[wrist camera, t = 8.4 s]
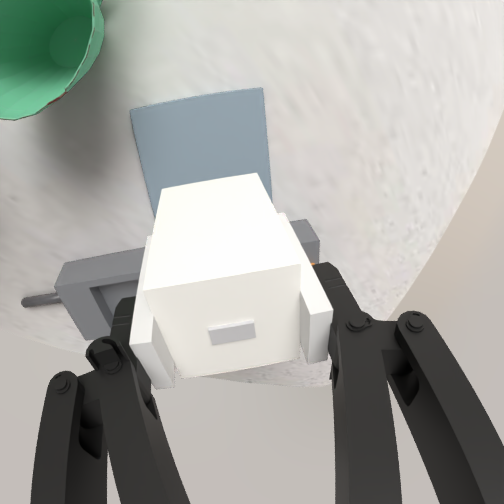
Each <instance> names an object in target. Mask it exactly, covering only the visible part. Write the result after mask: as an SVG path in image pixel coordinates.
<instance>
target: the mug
mask: <svg viewBox="0 0 504 504" xmlns="http://www.w3.org/2000/svg"><path fill="white" fill-rule="evenodd" d="M101 3H102V0H0V119H3V120H14V121H15V120H18V119H22V118H25V117H29V116H32V115H36V114H38V113H40V112H41V111H43V110H44V109H45V108H47V107H48V106H50V105H51V104H53V103H54V102H55V101H57V100H58V99H60V98H61V97H62V96H64V95H65V94H66V93H67V92H68V91H69V90H70V89H71V88H72V87H73V86H74V85H75V84H76V83H77V82H78V81H79V80H80V79H81V78H82V77H83V76H84V75H85V74H86V73H87V72H88V70H89V69H90V68H91V66H92V65H93V63H94V61H95V59H96V58H97V56H98V54H99V53H100V49H101V46H102V42H103V39H104V18H103V16H102V13H101V10H100V5H101Z"/></svg>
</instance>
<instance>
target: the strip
mask: <svg viewBox="0 0 504 504" xmlns="http://www.w3.org/2000/svg"><path fill="white" fill-rule="evenodd" d="M289 223H290V224H291V226H292V228H293V230H294V232H295V234H296V236H297V238H298V240H299V242H300V244H301V246H302V248H303V250H304V252H305V254H306V256H307V258H308V260H309V262H310V264H311V265H314V264H319V246H320V240H319V238H318V237H317V235H316V233H315V232H314V230H313V229H312V227H311V225H310V224H309V222H308V221H307V219H304V220H298V221H292V222H289ZM144 251H145V247H144V248H138V249H133V250H128V251H123V252H117V253H112V254H107V255H102V256H97V257H92V258H87V259H82V260H77V261H72V262H67V263H64V266H63V268H62V270H61V272H60V274H59V277H58V279H57V281H56V283H55V286H54V288H55V290H56V292H57V293H51V294H45V295H39V296H33V297H27V298H23V299H22V301H21V304H22V306H23V307H25V308H27V307H34V306H41V305H47V304H54V303H60V302H63V304H64V306H65V307H66V309H67V311H68V313H69V314H70V316H71V318H72V319H73V321H74V323H75V324H76V326H77V328H78V329H79V331H80V332H81V334H82V335H83V337H84V339H85V340H95V339H98V338H100V337H104V336H110V332H111V327H112V322H113V319H114V312H115V308H116V306H117V305H118V303H119V302H120V300H121V299H122V298H126V297H133V296H136V295H137V289H138V283H139V277H140V272H141V267H142V261H143V256H144Z"/></svg>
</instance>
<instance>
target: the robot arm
mask: <svg viewBox="0 0 504 504" xmlns="http://www.w3.org/2000/svg"><path fill="white" fill-rule="evenodd" d="M278 217H279V219H280V221H281V223H282V225H283V227H284V229H285V231H286V233H287V235H288V237H289V239H290V242H291V244H292V246H293V248H294V250H295V252H296V254H297V256H298V258H299V261H300V263H301V290H300V343H301V346H302V349H303V352H304V355H305V358H306V360H307V363H308V364H312V363H316V362H321V361H325V360H327V358H328V352H329V354H330V357H331V359H332V366H331V373H330V379H332V390H333V409H334V431H335V432H334V433H335V473H336V474H335V475H336V476H335V477H336V478H335V480H336V482H335V487H336V488H335V490H336V492H335V493H336V494H335V496H336V497H335V500H336V501H335V504H402V495H401V482H400V472H399V461H398V452H397V444H396V436H395V428H394V421H393V414H392V408H391V401H390V395H389V389H388V383H387V380H388V382H389V385H390V387H391V389H392V391H393V393H394V395H395V398H396V400H397V402H398V404H399V406H400V408H401V411H402V413H403V415H404V418H405V420H406V422H407V424H408V426H409V429H410V431H411V434H412V436H413V438H414V441H415V443H416V445H417V448H418V450H419V452H420V455H421V457H422V460H423V462H424V464H425V467H426V469H427V472H428V474H429V477H430V480H431V482H432V484H433V487H434V489H435V492H436V495H437V497H438V500H439V503H440V504H504V446H503V444H502V442H501V440H500V438H499V436H498V434H497V432H496V430H495V428H494V426H493V424H492V422H491V420H490V418H489V416H488V414H487V413H486V411H485V409H484V407H483V406H482V403H481V402H480V400H479V398H478V396H477V395H476V393H475V391H474V389H473V388H472V386H471V384H470V382H469V381H468V379H467V378H466V376H465V374H464V372H463V371H462V369H461V367H460V366H459V364H458V362H457V361H456V359H455V357H454V356H453V354H452V353H451V351H450V349H449V348H448V346H447V345H446V343H445V342H444V340H443V339H442V337H441V335H440V334H439V332H438V331H437V329H436V328H435V326H434V325H433V324H432V322H431V320H430V319H429V318H428V317H427V316H426V315H424V314H422V313H420V312H417V311H407V312H405V313H403V314H401V315H400V317H399V318H398V321H379V320H375V319H373V318H372V317H371V316H370V315H369V314H368V313H365V312H363V311H361V309H360V308H359V306H358V304H357V302H356V300H355V299H354V297H353V295H352V293H351V292H350V290H349V288H348V286H346V283H345V281H344V280H343V279H342V276H341V274H340V273H339V271H338V269H337V268H336V267H334V266H333V265H332V264H330V263H329V262H325V263H320V264H314V265H311V264H310V262H309V260H308V258H307V256H306V254H305V252H304V250H303V248H302V246H301V244H300V242H299V240H298V238H297V236H296V234H295V232H294V230H293V228H292V226H291V224H290V223H289V221H288V219H287V217H286V215H285V213H278ZM151 239H152V235H150V236H148V237H147V241H146V246H145V251H144V256H143V261H142V267H141V272H140V277H139V283H138V289H137V295H136V296H133V297H126V298H122V299H121V300H120V302H119V303H118V305H117V306H116V308H115V312H114V319H113V322H112V327H111V332H110V336H104V337H100V338H98V339H96V340H94V341H93V342H92V343H91V344H90V345H89V347H88V349H87V350H86V358H87V359H88V361H89V362H90V363H91V365H92V366H93V368H94V369H95V370H93V371H91V372H89V373H86V374H83V375H81V376H78V377H77V376H76V375H75V374H74V373H72V372H71V371H62V372H59V373H58V374H56V375H55V376H54V377H53V378H52V379H51V380H50V382H49V385H48V388H47V393H46V397H45V402H44V407H43V412H42V417H41V422H40V428H39V433H38V440H37V446H36V453H35V461H34V470H33V478H32V490H31V503H30V504H107V456H108V454H107V453H108V452H109V457H110V461H111V466H112V470H113V475H114V478H115V483H116V486H117V491H118V494H119V497H120V502H121V504H190V501H189V499H188V496H187V494H186V491H185V489H184V486H183V484H182V481H181V478H180V476H179V473H178V470H177V467H176V465H175V462H174V459H173V457H172V453H171V450H170V447H169V444H168V441H167V438H166V435H165V432H164V429H163V426H162V422H161V419H160V416H159V412H158V409H157V406H156V403H155V399H154V397H153V395H152V394H151V383H152V384H153V386H154V388H155V389H165V388H174V387H175V379H174V378H175V368H174V360H173V358H172V356H171V354H170V352H169V349H168V347H167V345H166V343H165V340H164V338H163V336H162V334H161V331H160V329H159V327H158V324H157V322H156V320H155V317H154V315H153V314H152V312H151V310H150V307H149V305H148V302H147V300H146V297H145V295H144V292H143V286H144V280H145V273H146V267H147V261H148V256H149V250H150V245H151ZM330 379H329V380H330Z"/></svg>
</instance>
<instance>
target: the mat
mask: <svg viewBox="0 0 504 504" xmlns="http://www.w3.org/2000/svg"><path fill="white" fill-rule="evenodd" d="M130 115H131V120H132V125H133V129H134V134H135V139H136V143H137V148H138V152H139V156H140V161H141V165H142V169H143V173H144V177H145V181H146V185H147V189H148V193H149V197H150V201H151V205H152V208H153V212H154V216H155V219H156V214H157V209H158V205H159V200H160V195H161V191H162V189H164V188H169V187H175V186H180V185H185V184H191V183H196V182H202V181H208V180H214V179H220V178H226V177H232V176H238V175H245V174H252V173H257V174H258V176H259V178H260V180H261V182H262V184H263V186H264V188H265V190H266V192H267V194H268V196H269V198H270V200H271V202H272V190H271V177H270V164H269V152H268V140H267V128H266V117H265V106H264V95H263V88H252V89H243V90H235V91H227V92H220V93H213V94H207V95H201V96H195V97H189V98H183V99H178V100H173V101H168V102H163V103H158V104H154V105H149V106H145V107H140V108H136V109H132V110H130ZM272 204H273V203H272Z"/></svg>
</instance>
